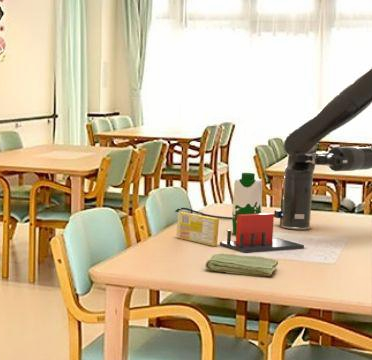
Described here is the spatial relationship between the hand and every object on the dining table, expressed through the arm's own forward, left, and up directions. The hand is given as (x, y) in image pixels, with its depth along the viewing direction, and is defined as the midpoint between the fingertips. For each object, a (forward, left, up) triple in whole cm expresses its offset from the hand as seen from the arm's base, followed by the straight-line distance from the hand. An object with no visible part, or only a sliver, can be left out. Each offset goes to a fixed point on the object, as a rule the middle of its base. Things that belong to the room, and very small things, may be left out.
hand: (305, 159), depth 281 cm
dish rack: (0, -15, -26) cm, 30 cm away
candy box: (-13, -30, -26) cm, 42 cm away
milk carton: (-19, -6, -26) cm, 33 cm away
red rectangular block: (0, -18, -25) cm, 31 cm away
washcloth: (+25, -42, -26) cm, 56 cm away
